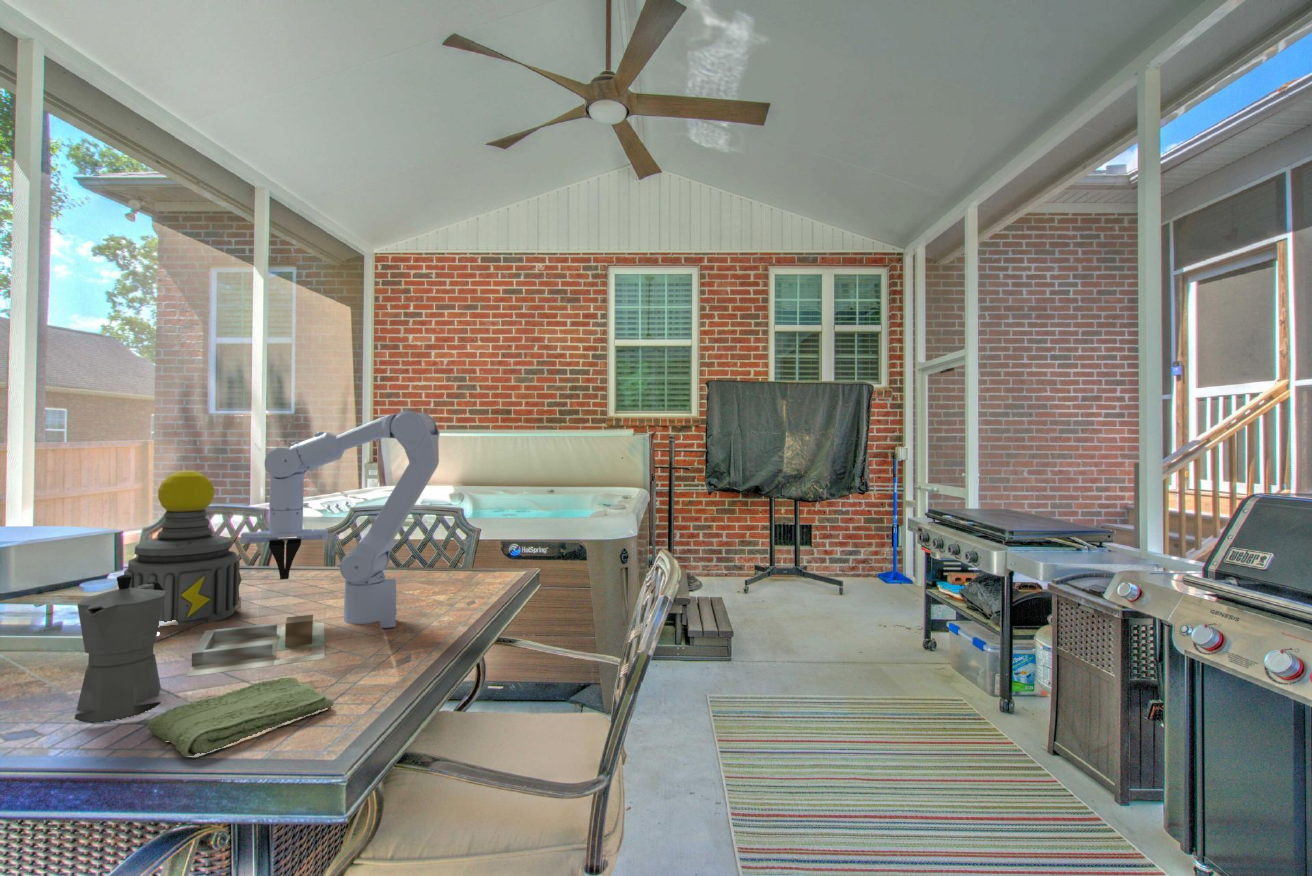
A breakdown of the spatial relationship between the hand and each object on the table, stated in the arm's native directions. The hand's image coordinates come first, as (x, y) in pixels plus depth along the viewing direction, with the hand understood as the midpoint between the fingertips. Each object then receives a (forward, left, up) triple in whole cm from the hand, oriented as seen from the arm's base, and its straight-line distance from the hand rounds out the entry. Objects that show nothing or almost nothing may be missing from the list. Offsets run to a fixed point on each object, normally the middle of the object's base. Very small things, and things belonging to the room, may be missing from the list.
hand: (284, 578), depth 120 cm
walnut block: (-3, +17, -8) cm, 19 cm away
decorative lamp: (+18, -14, -10) cm, 25 cm away
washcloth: (+2, +44, -10) cm, 46 cm away
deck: (+2, +17, -9) cm, 20 cm away
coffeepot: (+17, +32, -10) cm, 37 cm away
